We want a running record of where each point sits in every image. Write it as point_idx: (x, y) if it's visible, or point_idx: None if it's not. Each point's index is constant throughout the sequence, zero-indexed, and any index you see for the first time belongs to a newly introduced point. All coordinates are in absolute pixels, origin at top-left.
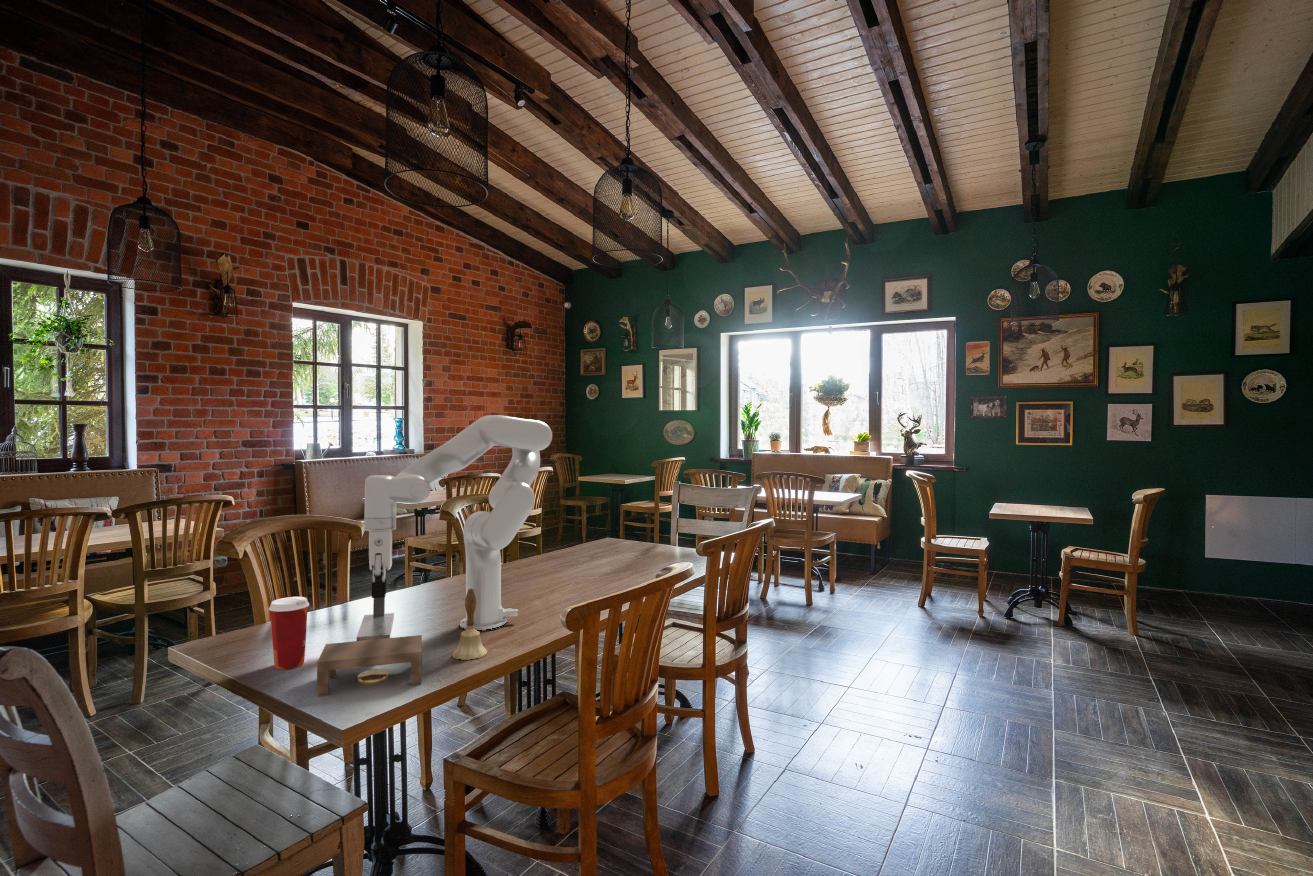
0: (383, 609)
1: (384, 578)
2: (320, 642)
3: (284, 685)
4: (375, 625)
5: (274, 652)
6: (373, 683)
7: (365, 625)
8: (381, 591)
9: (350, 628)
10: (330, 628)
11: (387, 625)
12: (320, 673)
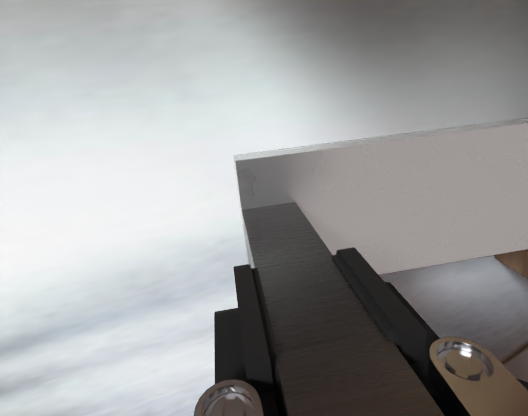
0: (306, 219)
1: (452, 374)
2: (200, 356)
3: (510, 319)
4: (454, 205)
5: None
6: None
7: (439, 247)
8: (399, 294)
9: (39, 324)
10: (39, 380)
11: (478, 149)
12: None
